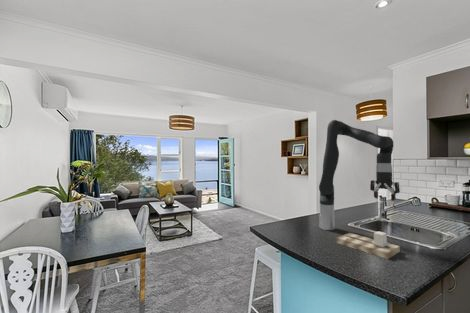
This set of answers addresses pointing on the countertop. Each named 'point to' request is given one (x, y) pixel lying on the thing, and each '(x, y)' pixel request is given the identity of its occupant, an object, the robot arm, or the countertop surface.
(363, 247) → the wooden grid board
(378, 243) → the white cube
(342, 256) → the countertop surface
